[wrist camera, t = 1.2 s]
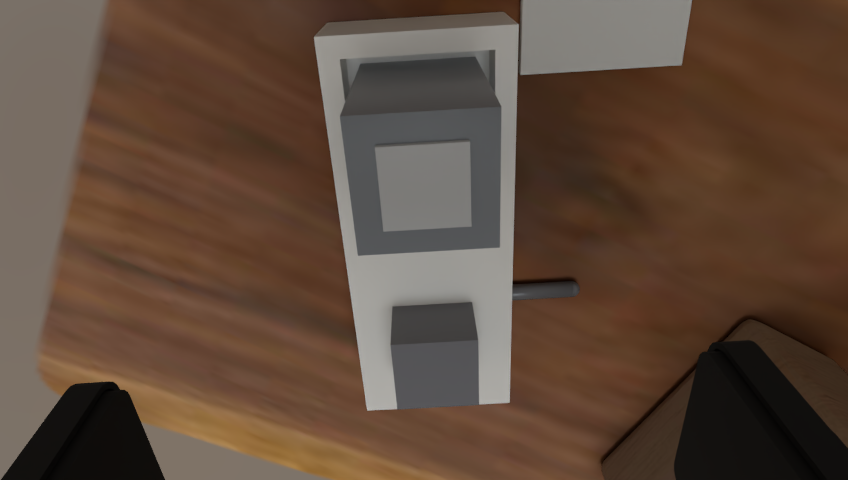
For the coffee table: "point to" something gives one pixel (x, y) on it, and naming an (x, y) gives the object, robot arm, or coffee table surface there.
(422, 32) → the power strip
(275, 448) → the coffee table surface
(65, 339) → the coffee table surface
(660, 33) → the felt pad
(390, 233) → the block
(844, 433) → the decorative block
